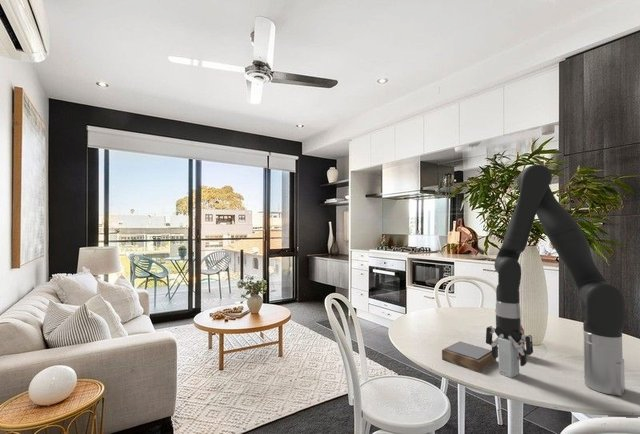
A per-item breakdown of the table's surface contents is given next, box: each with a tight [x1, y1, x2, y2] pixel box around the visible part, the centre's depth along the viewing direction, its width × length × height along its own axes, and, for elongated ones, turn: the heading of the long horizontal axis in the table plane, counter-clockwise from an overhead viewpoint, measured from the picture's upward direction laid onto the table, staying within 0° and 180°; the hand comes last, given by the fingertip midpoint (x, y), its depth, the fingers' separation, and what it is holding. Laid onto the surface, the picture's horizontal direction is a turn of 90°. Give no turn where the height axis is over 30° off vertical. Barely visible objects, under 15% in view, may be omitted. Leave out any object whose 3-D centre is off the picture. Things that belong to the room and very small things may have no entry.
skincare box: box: [497, 337, 520, 378], centre depth 112 cm, size 6×4×12 cm
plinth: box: [441, 341, 497, 373], centre depth 122 cm, size 14×14×4 cm
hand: (508, 361), depth 112 cm, fingers open, 8 cm apart
